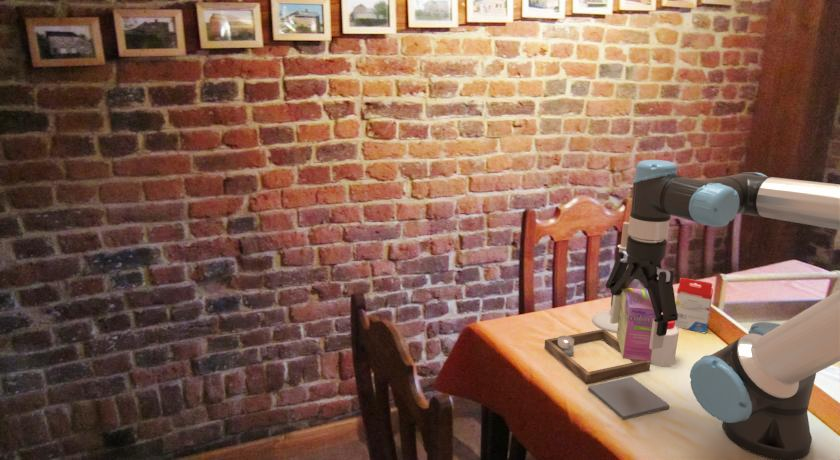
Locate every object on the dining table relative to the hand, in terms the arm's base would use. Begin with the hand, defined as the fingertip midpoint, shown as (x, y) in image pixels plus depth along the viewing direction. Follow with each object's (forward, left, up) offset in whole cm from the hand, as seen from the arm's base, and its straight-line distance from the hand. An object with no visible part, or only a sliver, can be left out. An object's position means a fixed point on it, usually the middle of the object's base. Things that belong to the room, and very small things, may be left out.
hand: (635, 334), depth 122 cm
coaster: (0, 0, -16) cm, 16 cm away
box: (0, 0, -4) cm, 4 cm away
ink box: (+23, -40, -16) cm, 49 cm away
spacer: (+22, +1, -16) cm, 27 cm away
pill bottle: (+12, -19, -16) cm, 27 cm away
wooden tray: (+17, -4, -16) cm, 23 cm away
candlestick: (+32, -22, -16) cm, 42 cm away
